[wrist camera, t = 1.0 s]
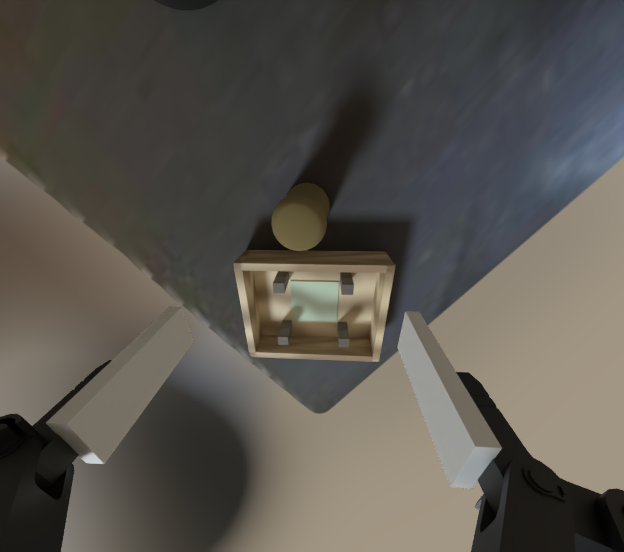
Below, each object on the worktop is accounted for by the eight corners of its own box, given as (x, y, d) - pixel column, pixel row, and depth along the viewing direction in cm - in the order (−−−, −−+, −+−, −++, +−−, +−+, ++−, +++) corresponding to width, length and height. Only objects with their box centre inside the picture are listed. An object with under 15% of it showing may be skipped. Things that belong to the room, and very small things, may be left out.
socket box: (246, 249, 32) (233, 263, 28) (385, 251, 31) (395, 265, 27) (258, 335, 39) (250, 356, 35) (372, 338, 38) (378, 361, 34)
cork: (277, 191, 28) (251, 204, 19) (322, 175, 27) (319, 180, 17) (293, 235, 31) (278, 267, 21) (335, 222, 30) (340, 249, 20)
